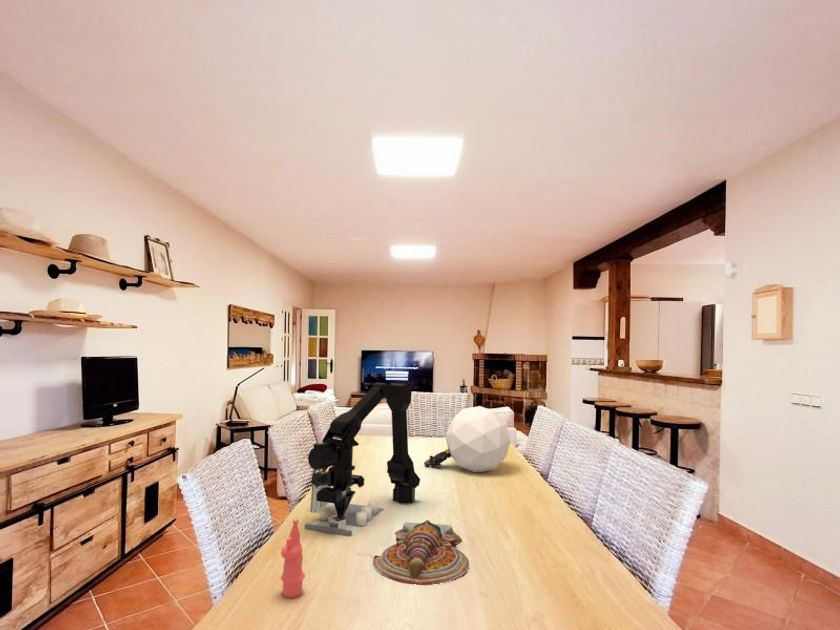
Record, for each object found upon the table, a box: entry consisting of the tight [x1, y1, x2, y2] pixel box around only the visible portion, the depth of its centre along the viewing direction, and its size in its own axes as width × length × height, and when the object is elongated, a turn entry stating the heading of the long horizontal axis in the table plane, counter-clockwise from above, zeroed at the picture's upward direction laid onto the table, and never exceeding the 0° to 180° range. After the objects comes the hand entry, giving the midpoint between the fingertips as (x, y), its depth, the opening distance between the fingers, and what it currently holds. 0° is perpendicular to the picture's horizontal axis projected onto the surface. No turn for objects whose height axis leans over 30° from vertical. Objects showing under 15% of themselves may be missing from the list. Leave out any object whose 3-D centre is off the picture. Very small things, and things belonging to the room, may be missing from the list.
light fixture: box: [423, 405, 511, 473], centre depth 208 cm, size 27×40×28 cm
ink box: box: [310, 468, 332, 514], centre depth 150 cm, size 7×4×13 cm, turn 168°
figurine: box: [280, 518, 306, 599], centre depth 102 cm, size 5×5×15 cm
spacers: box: [319, 500, 378, 528], centre depth 145 cm, size 14×14×3 cm
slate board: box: [304, 503, 385, 537], centre depth 143 cm, size 14×24×2 cm, turn 162°
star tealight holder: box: [328, 515, 346, 529], centre depth 136 cm, size 5×5×2 cm
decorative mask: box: [372, 519, 470, 586], centre depth 121 cm, size 24×8×30 cm
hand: (340, 518), depth 139 cm, fingers closed
